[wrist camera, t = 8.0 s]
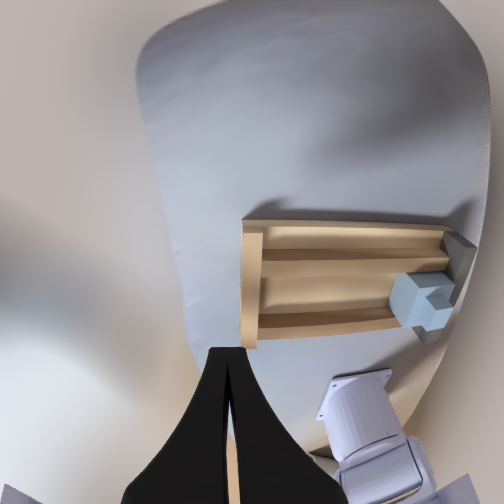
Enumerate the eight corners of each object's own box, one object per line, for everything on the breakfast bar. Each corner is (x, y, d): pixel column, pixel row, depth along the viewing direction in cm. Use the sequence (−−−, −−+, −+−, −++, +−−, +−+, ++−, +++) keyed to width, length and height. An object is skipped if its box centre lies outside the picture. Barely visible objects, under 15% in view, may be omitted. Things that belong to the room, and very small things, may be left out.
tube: (374, 473, 46) (321, 467, 36) (356, 487, 46) (298, 484, 36) (362, 459, 51) (307, 446, 41) (346, 473, 50) (286, 463, 40)
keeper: (421, 300, 23) (447, 334, 18) (386, 304, 22) (412, 342, 18) (434, 264, 21) (466, 296, 17) (399, 265, 21) (430, 301, 16)
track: (416, 315, 25) (436, 342, 22) (239, 330, 24) (242, 368, 20) (448, 225, 21) (477, 247, 17) (241, 219, 19) (244, 248, 16)
